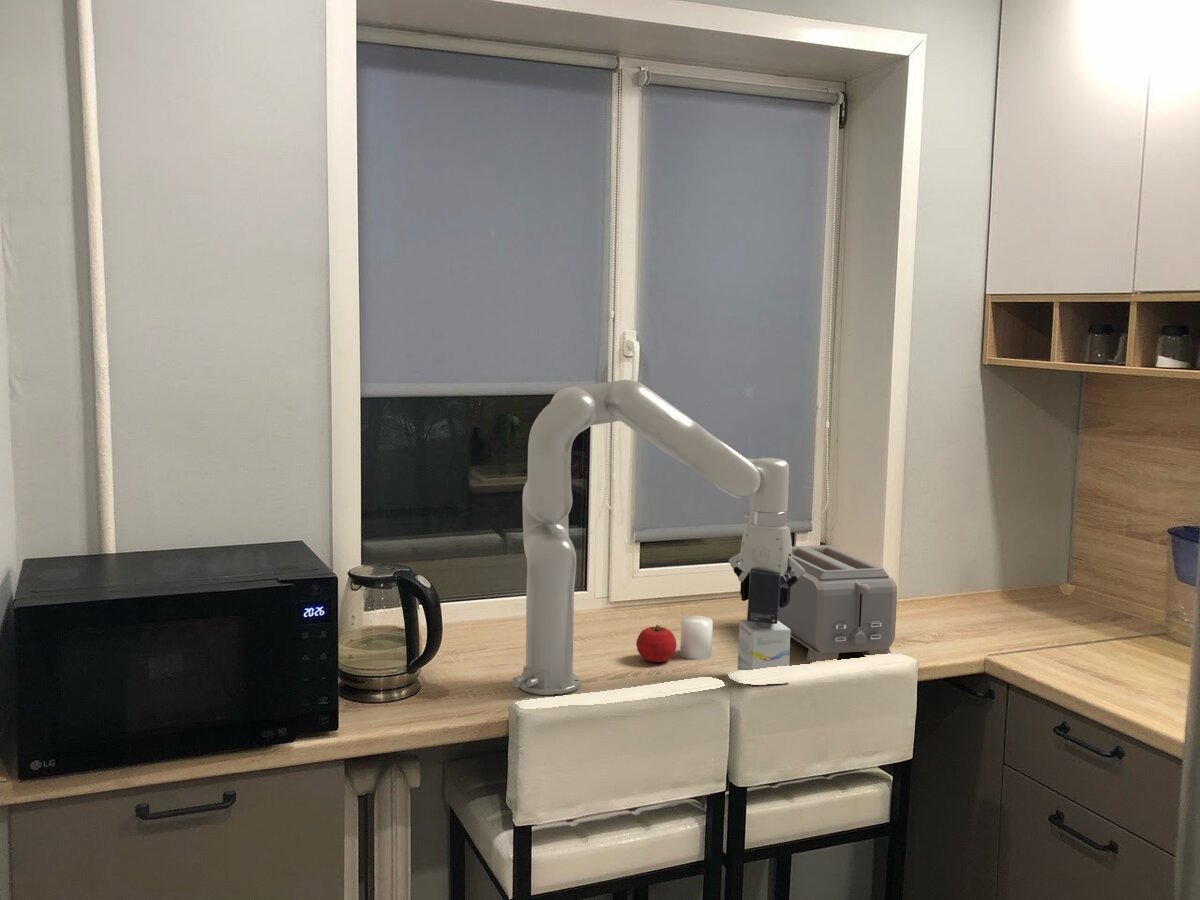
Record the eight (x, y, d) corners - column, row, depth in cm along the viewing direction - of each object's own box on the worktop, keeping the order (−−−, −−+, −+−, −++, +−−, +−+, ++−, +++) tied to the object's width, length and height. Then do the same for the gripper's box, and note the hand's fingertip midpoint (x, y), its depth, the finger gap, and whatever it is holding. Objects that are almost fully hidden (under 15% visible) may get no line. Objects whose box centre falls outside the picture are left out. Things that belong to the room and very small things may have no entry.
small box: (778, 625, 203) (781, 574, 202) (746, 622, 205) (748, 571, 204) (781, 612, 214) (783, 563, 212) (750, 609, 215) (752, 560, 214)
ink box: (789, 684, 207) (792, 628, 206) (750, 686, 206) (752, 630, 204) (774, 671, 216) (776, 617, 214) (736, 673, 214) (738, 618, 213)
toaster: (822, 671, 216) (826, 578, 214) (757, 626, 250) (760, 545, 248) (903, 665, 221) (907, 574, 219) (828, 622, 255) (831, 542, 253)
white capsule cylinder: (702, 661, 221) (703, 626, 220) (674, 655, 225) (675, 620, 224) (717, 653, 227) (718, 619, 226) (689, 648, 231) (690, 613, 230)
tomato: (656, 651, 228) (657, 617, 227) (684, 661, 221) (685, 625, 220) (627, 659, 222) (628, 623, 221) (655, 669, 215) (656, 633, 214)
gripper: (721, 516, 209) (718, 599, 211) (801, 526, 199) (796, 613, 201) (737, 511, 215) (734, 592, 217) (815, 521, 205) (811, 606, 207)
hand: (764, 602), depth 209 cm, fingers closed on small box, 7 cm apart
